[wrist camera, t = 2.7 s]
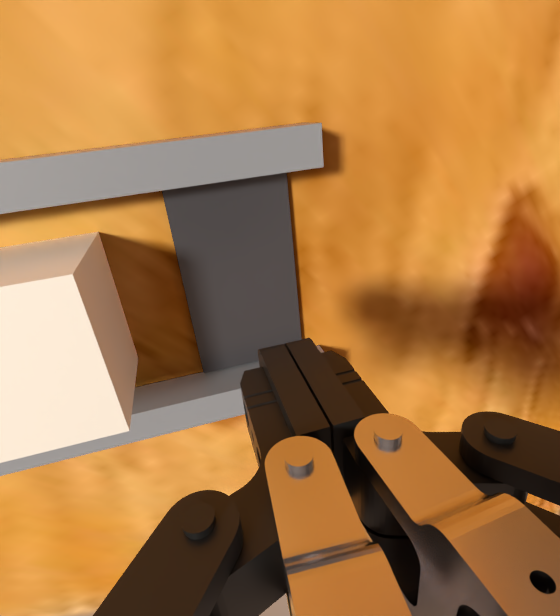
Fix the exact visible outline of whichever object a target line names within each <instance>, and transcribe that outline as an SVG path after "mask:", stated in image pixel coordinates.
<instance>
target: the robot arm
mask: <svg viewBox="0 0 560 616" xmlns="http://www.w3.org/2000/svg"><path fill="white" fill-rule="evenodd" d="M258 359H259V366H260V367H259V368H255V369H250V370H246V371H244V373H243V376H242V379H241V382H240V387H241V393H242V399H243V404H244V410H245V416H246V422H247V427H248V431H249V434H250V438H251V441H252V445H253V448H254V452H255V456H256V459H257V463H258V466H259V469H258V471H257V473H256V474H255V476H254V477H253V478H252V479H251V481H249V482H248V483H247V484H246V485H245V486H244V487H242V488H241V489H239V490H238V491H236V492H234V493H233V494H231V495H230V496H228V495H226V494H224V493H222V492H219V491H215V490H204V491H199V492H195V493H192V494H190V495H188V496H186V497H184V498H182V499H181V500H180V501H178V502H177V503H176V504H175V505H174V506H173V507H172V508H171V509H170V510H169V511H168V512H167V514H166V515H165V517H164V518H163V519H162V521H161V522H160V523H159V525H158V526H157V528H156V529H155V530H154V532H153V533H152V535H151V536H150V537H149V539H148V540H147V541H146V543H145V544H144V546H143V547H142V548H141V550H140V551H139V553H138V554H137V555H136V557H135V558H134V559H133V561H132V562H131V564H130V565H129V566H128V568H127V569H126V571H125V572H124V573H123V575H122V576H121V577H120V579H119V580H118V582H117V583H116V584H115V586H114V587H113V589H112V590H111V591H110V593H109V594H108V595H107V597H106V598H105V600H104V601H103V602H102V604H101V605H100V607H99V608H98V609H97V611H96V612H95V613H94V615H93V616H259V615H260V614H261V613H262V612H264V611H265V610H266V609H267V608H268V607H270V606H271V605H272V604H273V603H274V602H276V601H277V600H278V599H279V598H280V597H282V596H283V595H284V594H285V593H286V597H287V602H288V608H289V612H290V616H560V516H559V515H557V514H554V513H552V512H549V511H547V510H544V509H542V508H539V507H537V506H535V505H532V504H530V503H527V502H526V499H527V495H528V493H529V494H532V495H534V496H537V497H539V498H542V499H544V500H547V501H549V502H552V503H554V504H557V505H560V431H557V430H554V429H551V428H548V427H545V426H541V425H538V424H535V423H532V422H528V421H525V420H522V419H519V418H515V417H512V416H509V415H506V414H502V413H497V412H478V413H475V414H472V415H470V416H468V417H467V418H466V419H465V420H464V422H463V424H462V429H461V432H423V431H421V430H420V429H419V428H418V427H417V426H416V425H415V424H413V423H412V422H411V421H409V420H408V419H406V418H404V417H401V416H398V415H394V414H389V413H388V411H387V410H386V409H385V408H384V406H383V405H382V404H381V403H380V401H379V400H378V399H377V398H376V396H375V395H374V394H373V392H372V391H371V390H370V389H369V387H368V386H367V385H366V384H365V382H364V381H362V380H361V377H360V376H359V375H358V373H357V372H356V371H354V368H353V367H352V366H351V365H350V363H349V362H348V361H347V360H346V358H344V357H342V356H340V355H339V354H337V353H335V352H333V351H327V352H323V353H320V351H319V350H318V348H317V347H316V345H315V344H314V343H313V341H312V340H311V339H310V338H306V339H302V340H297V341H293V342H288V343H285V344H280V345H275V346H271V347H266V348H262V349H258Z"/></svg>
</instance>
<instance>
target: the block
mask: <svg viewBox="0 0 560 616" xmlns="http://www.w3.org/2000/svg"><path fill="white" fill-rule="evenodd" d="M137 365H138V356H137V352H136V349H135V346H134V343H133V340H132V336H131V333H130V330H129V327H128V324H127V321H126V317H125V314H124V311H123V308H122V305H121V302H120V298H119V295H118V292H117V289H116V286H115V283H114V279H113V276H112V273H111V270H110V267H109V263H108V260H107V257H106V254H105V251H104V248H103V244H102V241H101V238H100V235H99V232H94V233H88V234H82V235H76V236H69V237H63V238H57V239H51V240H44V241H38V242H32V243H25V244H19V245H13V246H7V247H0V463H2V462H6V461H10V460H14V459H18V458H23V457H27V456H31V455H35V454H39V453H43V452H47V451H51V450H55V449H59V448H63V447H67V446H71V445H75V444H79V443H83V442H87V441H91V440H95V439H99V438H103V437H107V436H111V435H115V434H119V433H123V432H127V431H130V423H131V415H132V406H133V398H134V390H135V382H136V373H137Z"/></svg>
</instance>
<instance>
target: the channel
mask: <svg viewBox="0 0 560 616" xmlns="http://www.w3.org/2000/svg"><path fill="white" fill-rule="evenodd" d="M321 167H324V164H323V143H322V123H297V124H289V125H281V126H273V127H265V128H256V129H248V130H240V131H232V132H224V133H216V134H208V135H199V136H191V137H183V138H175V139H167V140H159V141H150V142H142V143H134V144H126V145H118V146H110V147H102V148H93V149H85V150H77V151H69V152H61V153H53V154H45V155H36V156H28V157H20V158H12V159H4V160H0V214H4V213H11V212H18V211H25V210H31V209H38V208H45V207H52V206H59V205H66V204H73V203H80V202H87V201H94V200H100V199H107V198H114V197H121V196H128V195H135V194H142V193H149V192H156V191H162V193H163V198H164V202H165V206H166V211H167V215H168V219H169V224H170V228H171V232H172V237H173V241H174V246H175V250H176V254H177V259H178V263H179V267H180V272H181V276H182V280H183V285H184V289H185V293H186V298H187V302H188V306H189V311H190V315H191V320H192V324H193V328H194V333H195V337H196V341H197V346H198V350H199V354H200V359H201V363H202V367H203V372H200V373H196V374H192V375H187V376H183V377H179V378H174V379H170V380H165V381H161V382H157V383H152V384H148V385H144V386H139V387H135V390H134V398H133V406H132V415H131V423H130V431H127V432H123V433H119V434H115V435H111V436H107V437H103V438H99V439H95V440H91V441H87V442H83V443H79V444H75V445H71V446H67V447H63V448H59V449H55V450H51V451H47V452H43V453H39V454H35V455H31V456H27V457H23V458H18V459H14V460H10V461H6V462H2V463H0V476H2V475H6V474H10V473H14V472H18V471H22V470H26V469H30V468H34V467H38V466H42V465H46V464H50V463H54V462H58V461H61V460H65V459H69V458H73V457H77V456H81V455H85V454H89V453H93V452H97V451H101V450H105V449H109V448H113V447H117V446H121V445H125V444H129V443H133V442H136V441H140V440H144V439H148V438H152V437H156V436H160V435H164V434H168V433H172V432H176V431H180V430H184V429H188V428H192V427H196V426H200V425H204V424H208V423H211V422H215V421H219V420H223V419H227V418H231V417H235V416H239V415H243V414H245V410H244V404H243V399H242V393H241V387H240V382H241V379H242V376H243V373H244V371H246V370H250V369H255V368H259V367H260V366H259V359H258V349H262V348H266V347H271V346H275V345H280V344H285V343H288V342H293V341H297V340H302V339H301V328H300V317H299V305H298V294H297V283H296V272H295V261H294V250H293V239H292V228H291V217H290V206H289V195H288V184H287V172H293V171H300V170H307V169H314V168H321ZM316 347H317V348H318V350H319V351H320V353H323V352H324V351H323V350H322V348H321V347H320V345H318V346H316Z"/></svg>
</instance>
